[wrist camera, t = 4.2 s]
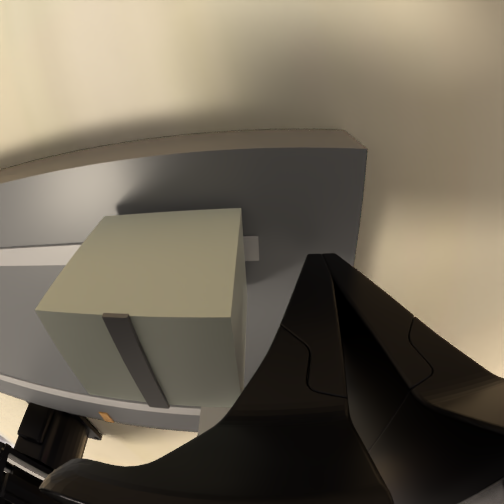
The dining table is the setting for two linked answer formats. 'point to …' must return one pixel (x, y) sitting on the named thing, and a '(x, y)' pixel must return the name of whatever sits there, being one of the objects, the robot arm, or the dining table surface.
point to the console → (166, 200)
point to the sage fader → (155, 308)
